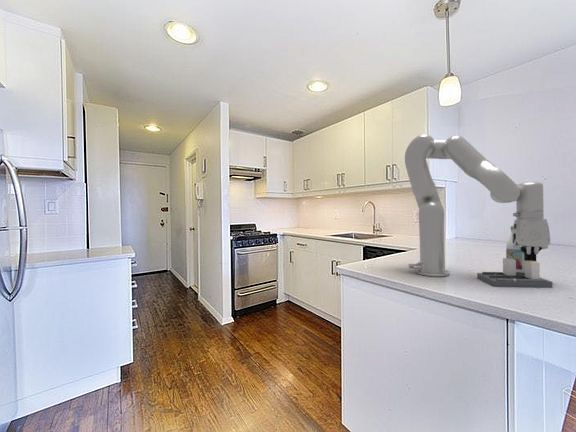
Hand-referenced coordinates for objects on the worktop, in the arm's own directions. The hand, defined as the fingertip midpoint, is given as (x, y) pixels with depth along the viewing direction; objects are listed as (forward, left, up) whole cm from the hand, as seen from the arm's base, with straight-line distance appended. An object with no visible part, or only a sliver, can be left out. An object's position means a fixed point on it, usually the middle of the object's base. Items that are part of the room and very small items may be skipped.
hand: (530, 264), depth 101 cm
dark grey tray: (-8, -2, -6) cm, 10 cm away
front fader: (-3, -5, -4) cm, 7 cm away
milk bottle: (+2, +10, -7) cm, 12 cm away
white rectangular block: (-7, 0, -4) cm, 8 cm away
